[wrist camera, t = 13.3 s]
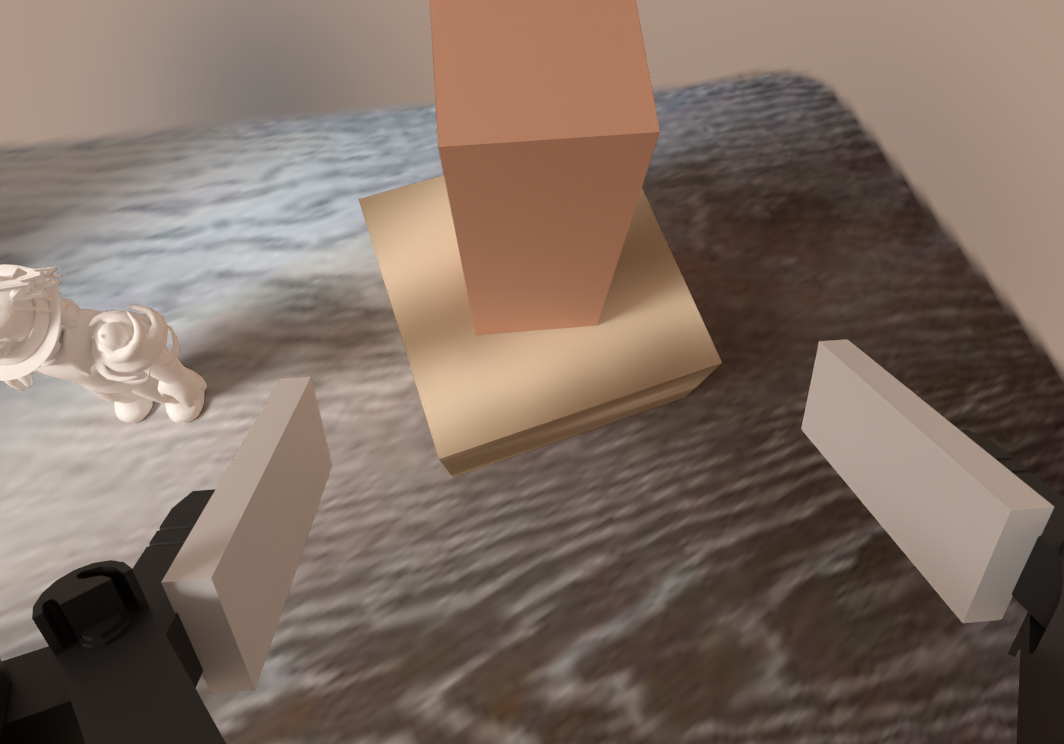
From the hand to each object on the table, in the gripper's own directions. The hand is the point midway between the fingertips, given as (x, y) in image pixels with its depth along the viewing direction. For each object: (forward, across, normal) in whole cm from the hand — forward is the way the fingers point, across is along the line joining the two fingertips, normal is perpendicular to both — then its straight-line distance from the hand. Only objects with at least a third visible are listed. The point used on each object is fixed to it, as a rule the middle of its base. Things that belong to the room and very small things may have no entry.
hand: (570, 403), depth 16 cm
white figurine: (+13, -18, -6) cm, 23 cm away
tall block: (+11, 0, 0) cm, 11 cm away
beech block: (+15, 0, -5) cm, 16 cm away
